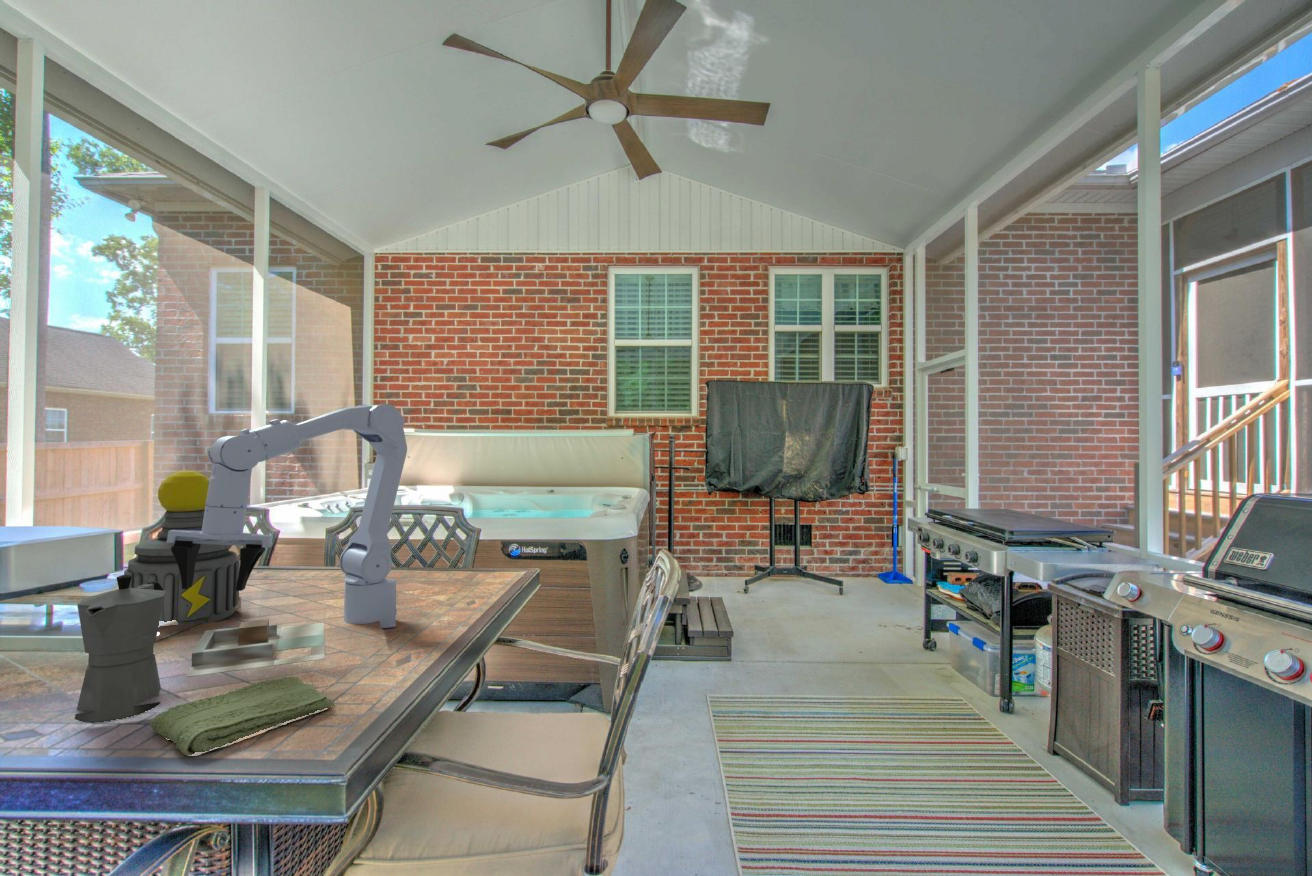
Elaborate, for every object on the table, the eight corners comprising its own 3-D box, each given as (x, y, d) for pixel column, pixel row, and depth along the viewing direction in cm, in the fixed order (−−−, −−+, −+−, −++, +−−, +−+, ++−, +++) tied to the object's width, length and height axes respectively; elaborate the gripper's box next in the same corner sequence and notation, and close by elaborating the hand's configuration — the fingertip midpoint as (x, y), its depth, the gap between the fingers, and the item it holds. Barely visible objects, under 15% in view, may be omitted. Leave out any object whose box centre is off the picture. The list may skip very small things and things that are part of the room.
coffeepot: (131, 727, 77) (135, 585, 78) (41, 734, 75) (46, 587, 76) (193, 681, 92) (196, 561, 93) (120, 685, 90) (124, 563, 91)
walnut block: (268, 642, 106) (269, 619, 106) (266, 649, 103) (267, 625, 103) (240, 645, 104) (241, 621, 104) (238, 652, 101) (238, 628, 101)
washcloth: (340, 712, 84) (340, 688, 84) (186, 766, 69) (187, 738, 70) (292, 689, 91) (292, 667, 91) (144, 734, 77) (145, 708, 77)
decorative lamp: (112, 619, 123) (116, 469, 123) (223, 601, 137) (227, 467, 137) (132, 639, 110) (137, 473, 111) (252, 618, 125) (256, 471, 125)
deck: (323, 630, 118) (324, 612, 118) (324, 667, 99) (324, 646, 99) (209, 643, 110) (209, 623, 110) (185, 686, 90) (186, 663, 90)
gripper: (164, 504, 97) (150, 591, 96) (268, 511, 101) (256, 594, 100) (183, 502, 104) (170, 584, 102) (280, 509, 108) (269, 587, 107)
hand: (213, 588), depth 102 cm, fingers open, 7 cm apart
